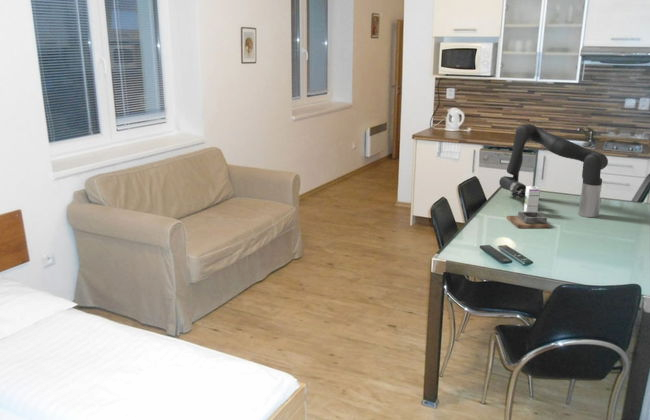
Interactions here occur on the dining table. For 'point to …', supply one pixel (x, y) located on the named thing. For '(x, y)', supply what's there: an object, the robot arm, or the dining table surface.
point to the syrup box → (531, 199)
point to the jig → (529, 220)
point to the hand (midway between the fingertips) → (530, 197)
